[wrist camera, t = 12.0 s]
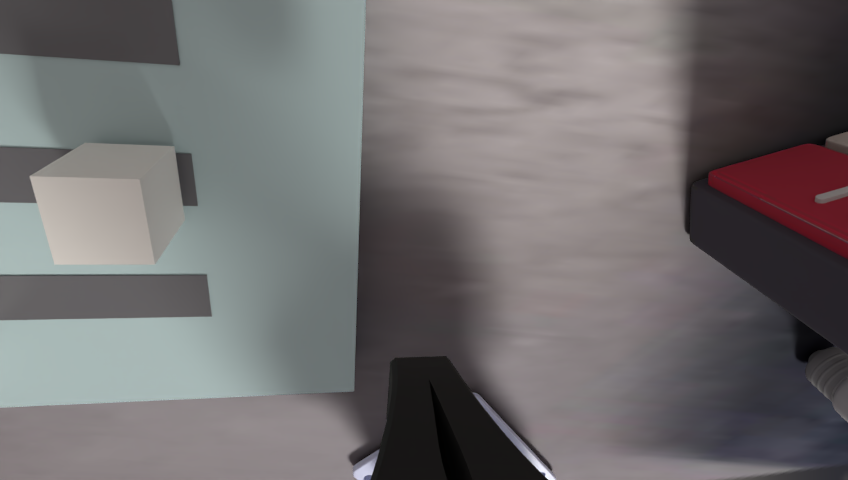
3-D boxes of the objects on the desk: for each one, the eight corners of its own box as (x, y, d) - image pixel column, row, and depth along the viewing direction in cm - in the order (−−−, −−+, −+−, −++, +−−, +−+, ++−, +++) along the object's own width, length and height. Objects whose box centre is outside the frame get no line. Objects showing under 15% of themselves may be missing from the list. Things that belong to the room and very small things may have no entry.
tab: (174, 146, 15) (139, 179, 13) (184, 219, 16) (154, 264, 14) (85, 143, 15) (28, 176, 12) (101, 218, 16) (54, 264, 13)
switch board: (363, -26, 16) (366, -28, 14) (353, 360, 23) (354, 392, 21) (-429, -106, 12) (-558, -122, 11) (-155, 378, 20) (-205, 417, 18)
